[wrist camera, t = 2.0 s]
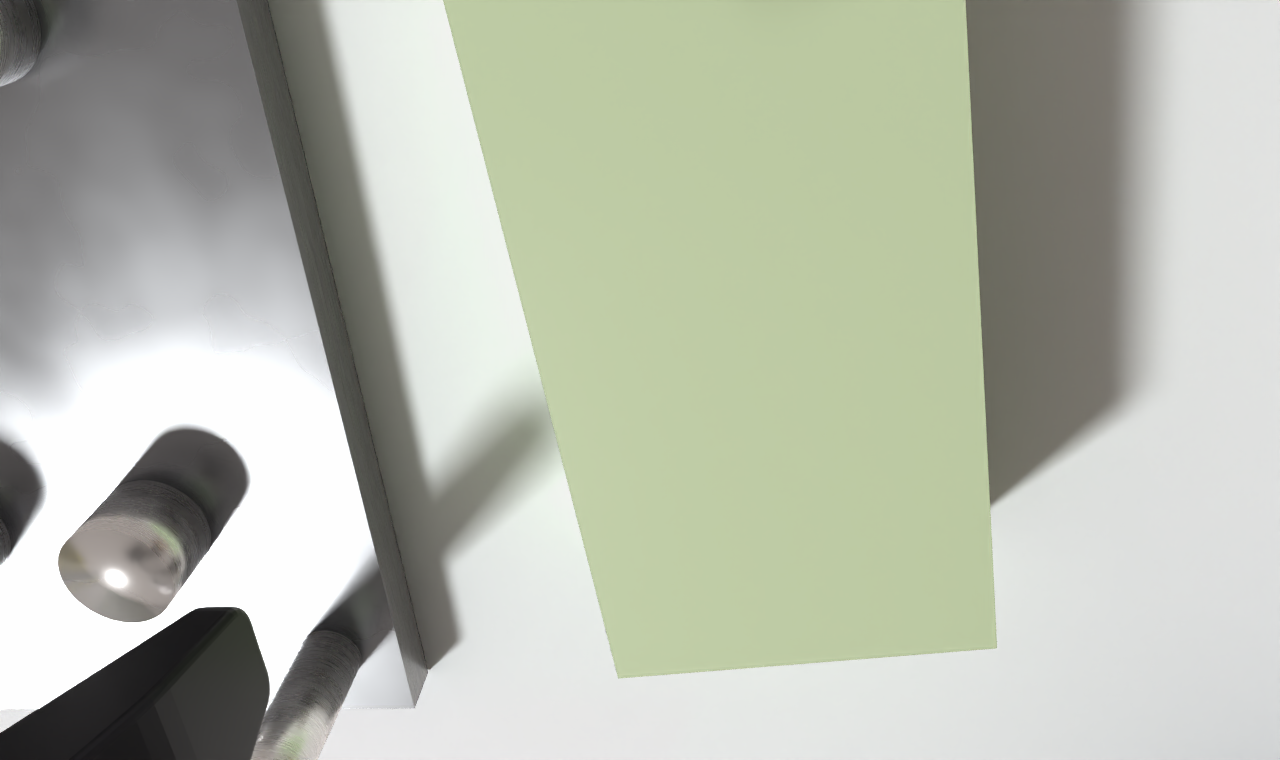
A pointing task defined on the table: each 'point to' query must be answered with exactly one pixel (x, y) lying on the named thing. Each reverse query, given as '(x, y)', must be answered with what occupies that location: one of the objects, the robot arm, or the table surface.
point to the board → (751, 314)
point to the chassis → (180, 369)
